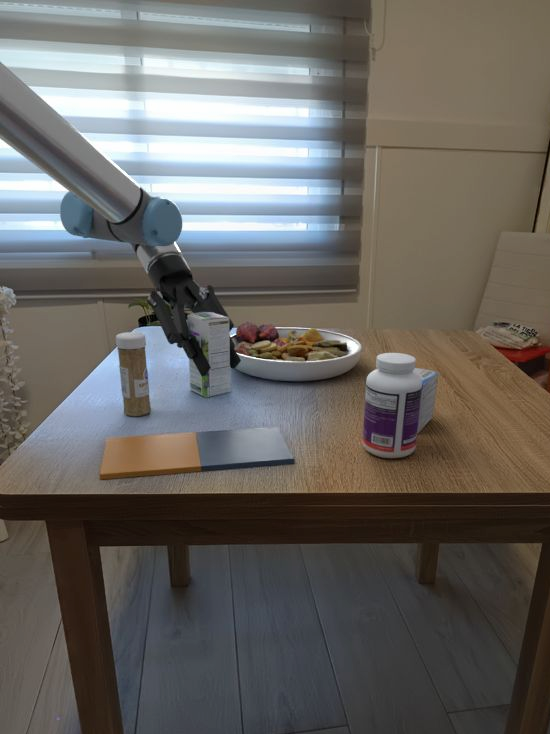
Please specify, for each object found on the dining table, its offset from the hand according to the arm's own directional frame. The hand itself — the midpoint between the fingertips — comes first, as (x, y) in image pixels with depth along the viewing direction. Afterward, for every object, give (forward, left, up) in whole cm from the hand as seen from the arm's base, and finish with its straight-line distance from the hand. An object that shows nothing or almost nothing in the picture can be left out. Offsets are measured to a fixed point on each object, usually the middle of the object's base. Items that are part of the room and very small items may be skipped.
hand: (221, 368), depth 104 cm
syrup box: (-2, +3, -6) cm, 7 cm away
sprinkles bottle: (-15, -6, -6) cm, 17 cm away
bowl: (+17, +18, -6) cm, 25 cm away
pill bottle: (+22, -28, -6) cm, 36 cm away
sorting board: (-6, -24, -5) cm, 25 cm away
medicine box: (+30, -19, -6) cm, 36 cm away
